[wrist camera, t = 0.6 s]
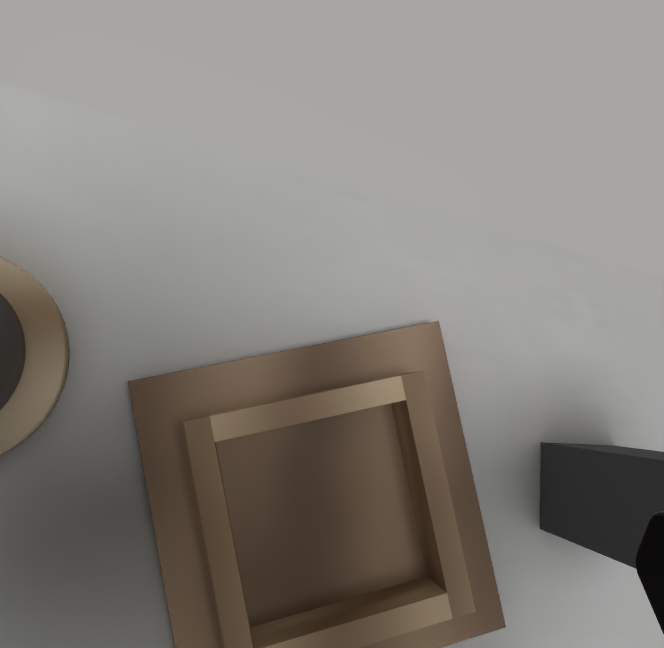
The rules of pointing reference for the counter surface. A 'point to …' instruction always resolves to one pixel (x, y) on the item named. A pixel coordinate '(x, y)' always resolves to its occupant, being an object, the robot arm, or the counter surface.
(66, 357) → the bobbin
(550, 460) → the grey square peg
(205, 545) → the square recessed board
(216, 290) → the counter surface
